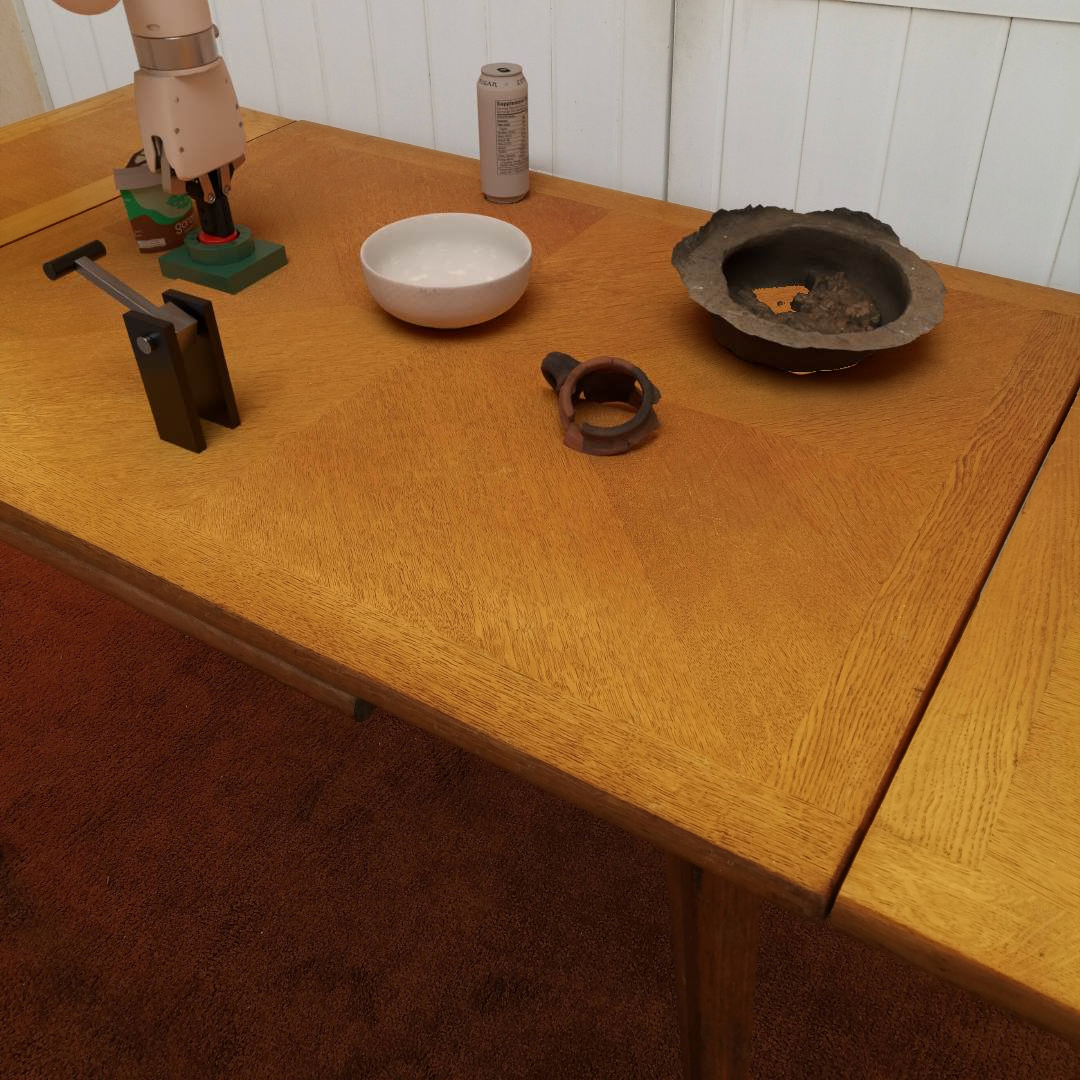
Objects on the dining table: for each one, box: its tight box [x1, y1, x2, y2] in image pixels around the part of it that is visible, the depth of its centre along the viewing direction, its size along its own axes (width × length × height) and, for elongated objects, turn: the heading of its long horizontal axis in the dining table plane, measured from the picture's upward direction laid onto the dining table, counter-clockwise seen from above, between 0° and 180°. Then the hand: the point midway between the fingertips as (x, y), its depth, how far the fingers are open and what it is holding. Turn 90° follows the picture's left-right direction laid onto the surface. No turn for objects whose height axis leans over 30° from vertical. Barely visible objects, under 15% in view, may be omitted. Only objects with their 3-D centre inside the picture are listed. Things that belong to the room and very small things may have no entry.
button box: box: [157, 222, 289, 296], centre depth 109 cm, size 10×9×4 cm
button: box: [199, 230, 238, 245], centre depth 108 cm, size 4×4×2 cm
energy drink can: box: [476, 62, 530, 204], centre depth 121 cm, size 6×6×15 cm
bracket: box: [121, 288, 242, 455], centre depth 80 cm, size 11×8×13 cm
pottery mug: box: [540, 350, 663, 457], centre depth 84 cm, size 12×10×8 cm
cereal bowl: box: [359, 212, 533, 330], centre depth 100 cm, size 17×17×7 cm
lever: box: [42, 239, 197, 352], centre depth 78 cm, size 12×5×2 cm, turn 60°
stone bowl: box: [670, 203, 949, 372], centre depth 95 cm, size 25×25×9 cm
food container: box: [112, 147, 197, 255], centre depth 114 cm, size 12×6×10 cm, turn 179°
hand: (219, 232), depth 107 cm, fingers closed
